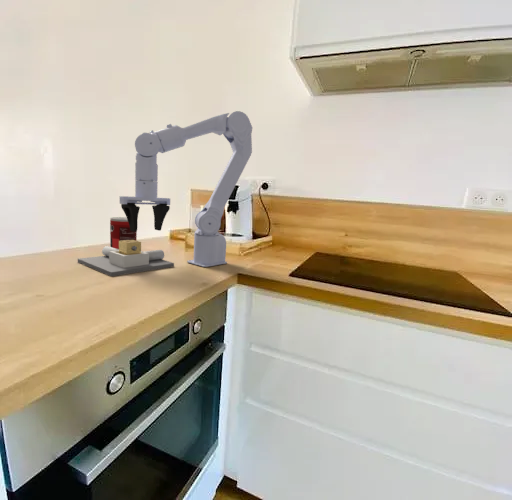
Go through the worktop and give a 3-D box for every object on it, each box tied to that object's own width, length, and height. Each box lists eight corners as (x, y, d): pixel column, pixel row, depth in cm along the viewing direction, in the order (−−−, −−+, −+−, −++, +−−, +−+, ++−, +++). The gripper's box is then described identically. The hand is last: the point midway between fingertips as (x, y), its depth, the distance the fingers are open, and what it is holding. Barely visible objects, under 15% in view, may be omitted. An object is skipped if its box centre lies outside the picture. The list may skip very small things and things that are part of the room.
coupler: (132, 261, 87) (132, 239, 86) (141, 264, 84) (141, 242, 83) (118, 262, 84) (118, 240, 83) (127, 266, 81) (127, 243, 80)
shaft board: (138, 255, 100) (138, 242, 99) (174, 266, 89) (174, 252, 88) (77, 262, 86) (77, 247, 85) (111, 276, 75) (111, 259, 74)
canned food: (118, 249, 107) (118, 216, 105) (140, 251, 106) (141, 218, 104) (105, 253, 100) (104, 218, 98) (128, 255, 99) (129, 220, 97)
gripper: (160, 182, 94) (159, 227, 97) (113, 178, 83) (113, 230, 85) (175, 183, 90) (174, 230, 92) (127, 179, 79) (127, 233, 81)
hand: (146, 230), depth 89 cm, fingers open, 7 cm apart
